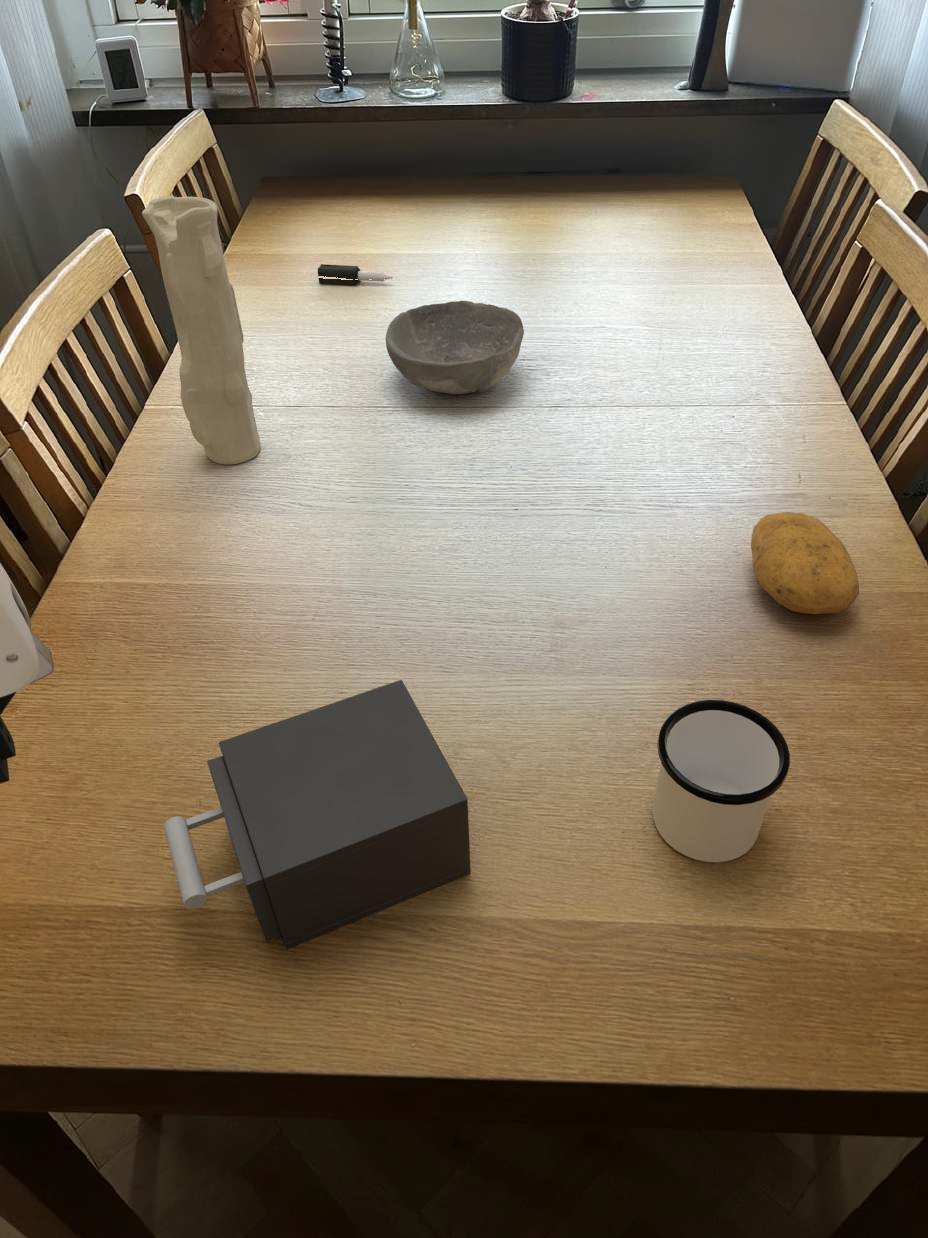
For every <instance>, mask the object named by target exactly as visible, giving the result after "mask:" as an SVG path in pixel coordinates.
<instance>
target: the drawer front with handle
mask: <svg viewBox="0 0 928 1238" xmlns="http://www.w3.org/2000/svg"><path fill="white" fill-rule="evenodd" d="M206 762H207V766H208V770H209V773H210V777H211V779H212V782H213V785H214V788H215V792H216V794H217V798H218V802H219V804H220V806H219V807H216V808H214V809H211V810H208V811H205V812H202V813H200V814H197V815H194V816H191V817H190V818H185V817H183V816H179V815H178V816H177V815H176V816H173V817H169V818H168V819H167V820H166V821H165V822H164V824H163V830H164V833H165V837H166V842H167V845H168V849H169V853H170V858H171V861H172V865H173V868H174V873H175V877H176V880H177V885H178V888H179V892H180V896H181V901H182V904H183V907H184V908H185V909H188V910H194V909H199V908H200V907H202V906H204V905H205V904H206V903H207V900H208V897H211V896H214V895H215V894H219V893H222V892H224V891H226V890H229V889H231V888H234V887H236V886H237V887H238V886H239V885H242V884H244V885H245V888H246V890H247V893H248V896H249V899H250V902H251V904H252V908H253V910H254V913H255V916H256V918H257V921H258V923H259V924H258V925H259V926H260V930H261V933H262V936H263V938H264V941H265V943H267V944H268V943H270V942H273V941H274V940H277V939H280V938H283V937H282V934H281V931H280V928H279V925H278V922H277V919H276V915H275V912H274V909H273V906H272V903H271V900H270V897H269V894H268V891H267V888H266V885H265V882H264V879H263V876H262V873H261V870H260V867H259V864H258V861H257V858H256V855H255V852H254V849H253V846H252V843H251V839H250V836H249V833H248V830H247V827H246V824H245V821H244V818H243V815H242V812H241V809H240V806H239V803H238V800H237V797H236V794H235V791H234V788H233V785H232V782H231V779H230V776H229V773H228V770H227V767H226V764H225V761H224V758H223V755H220V756H218V757H214V758H212V759H209V760H207V761H206ZM222 818H224V820H225V824H226V827H227V830H228V834H229V836H230V840H231V843H232V847H233V850H234V852H235V856H236V859H237V862H238V865H239V869H240V871H239V872H237V873H234V874H232V875H229V876H227V877H224V878H221V879H218V880H216V881H213V882H211V883H208V884H206V885H204V879H203V877H202V873H201V870H200V866H199V862H198V859H197V855H196V851H195V847H194V845H193V840H192V837H191V834H190V830H193V829H195V828H198V827H201V826H204V825H206V824H209V823H212V822H215V821H218V820H221V819H222Z"/></svg>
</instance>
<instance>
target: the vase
mask: <svg viewBox="0 0 928 1238" xmlns="http://www.w3.org/2000/svg"><path fill="white" fill-rule="evenodd" d="M141 215H142V217H143V218H144V220H145V222H146V224H147V225H148V227H149V228H150V230H151V232H152V234H153V236H154V239H155V243H156V247H157V251H158V258H159V264H160V270H161V276H162V280H163V285H164V288H165V293H166V297H167V301H168V304H169V309H170V312H171V316H172V321H173V323H174V324H173V325H174V328H175V332H176V337H177V342H178V346H179V350H180V356H181V360H180V366H179V368H178V369H179V381H180V400H181V401H180V402H181V405H182V409H183V411H184V414H185V417H186V419H187V420H188V422H189V428H190V432H191V434H192V436H193V438H194V439H195V441H196V442H197V443H198V444H200V445H201V446H202V447H203V448H204V452H205V454H206V455H207V457H208V458H209V459H210V461H212V462H215V463H216V464H219V465H237V464H241V463H244V462H247V461H249V460H252V459H254V458H255V457H256V456H258V454H259V453H260V451H261V438H260V434H259V430H258V426H257V421H256V416H255V412H254V411H255V410H254V406H253V395H252V391H251V390H250V387H249V383H248V379H247V374H246V367H245V353H244V345H243V343H244V340H245V339H244V331H243V328H242V323H241V318H240V314H239V308H238V304H237V299H236V294H235V293H236V292H235V289H234V286H233V284H232V283H231V282H230V279H229V274H228V270H227V265H226V264H227V263H226V260H225V255H224V250H223V247H222V246H223V245H222V242H221V236H220V232H219V226H218V206H217V204H216V203H215V202H214V201H213V200H212V199H208V198H206V197H199V196H174V195H167V196H160V197H156V198H153V199H151V200H150V201H149V202H148V205H147V206H146V207H145V208H144V209H143V210H142V213H141Z"/></svg>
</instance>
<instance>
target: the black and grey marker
mask: <svg viewBox="0 0 928 1238" xmlns="http://www.w3.org/2000/svg"><path fill="white" fill-rule="evenodd" d="M318 276H324V277H325V276H326V277H336V278H337V277H338V278H346V279H353V280H341V279H323V278H318ZM317 279H318V283H319V284H330V285H347V286H348V285H349V286H357V285H358V284H360V283H361V281H364V282H379V283H381V282H384V281H386V280H392V279H394V276H392V275H388V274H386V273H385V272H383V271H368V270H367V271H364V270H361V269H360V267H359V266H358V265H346V264H345V265H343V264H324V263H320V265H319V267H318V268H317ZM355 279H358V280H355ZM369 279H372V280H369ZM384 279H385V280H384Z"/></svg>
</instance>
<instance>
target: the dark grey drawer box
mask: <svg viewBox="0 0 928 1238" xmlns="http://www.w3.org/2000/svg"><path fill="white" fill-rule="evenodd" d="M218 745H219V750H220V751H221V754H222V755H221V756H223V758H224V761H225V764H226V767H227V770H228V773H229V776H230V779H231V782H232V785H233V788H234V791H235V794H236V797H237V800H238V803H239V806H240V809H241V812H242V815H243V818H244V821H245V824H246V827H247V830H248V833H249V836H250V839H251V843H252V846H253V849H254V852H255V855H256V858H257V861H258V864H259V867H260V870H261V873H262V876H263V879H264V882H265V885H266V888H267V891H268V894H269V897H270V900H271V903H272V906H273V909H274V912H275V915H276V919H277V922H278V925H279V928H280V931H281V934H282V937H281V938H282V940H283V943H284V946H285V948H286V950H289V949H292V948H294V947H296V946H299V945H301V944H305V943H307V942H309V941H311V940H314V939H316V938H318V937H320V936H323V935H326V934H328V933H329V932H333V931H336V930H338V929H340V928H342V927H345V926H347V925H349V924H350V925H351V923H354V922H356V921H359V920H361V919H363V918H366V917H368V916H371V915H374V914H377V913H379V912H381V911H384V910H386V909H388V908H390V907H393V906H396V905H397V904H400V903H402V902H405V901H407V900H410V899H413V898H414V897H417V896H420V895H422V894H425V893H428V892H429V891H432V890H434V889H436V888H439V887H441V886H444V885H445V884H448V883H450V882H453V881H455V880H458V879H460V878H463V877H465V876H468V875H470V874H471V873H472V872H471V871H472V870H471V851H470V849H471V848H470V824H469V801H468V800H469V799H468V797H467V795H466V794H465V792H464V790H463V788H462V786H461V784H460V783H459V781H458V779H457V777H456V776H455V773H454V772H453V769H452V767H451V766H450V765H449V763H448V761H447V759H446V757H445V756H444V754H443V752H442V750H441V748H440V746H439V744H438V743H437V741H436V739H435V736H433V734H432V732H431V730H430V729H429V726H428V724H427V722H426V720H425V719H424V717H423V715H422V714H421V712H420V710H419V708H418V707H417V705H416V703H415V701H414V699H413V698H412V696H411V694H410V692H409V690H408V688H407V686H406V684H405V682H404V681H403V679H398V680H396V681H393V682H391V683H387V684H384V685H382V686H379V687H376V688H373V689H370V690H367V691H363V692H361V693H358V694H354V695H353V696H349V697H347V698H343V699H341V700H337V701H334V702H332V703H329V704H326V705H323V706H320V707H317V708H314V709H311V710H309V711H305V712H302V713H299V714H296V715H294V716H291V717H288V718H285V719H282V720H279V721H276V722H273V723H270V724H267V725H265V726H261V727H258V728H256V729H253V730H250V731H247V732H245V733H241V734H238V735H235V736H233V737H230V738H229V737H228V738H226V739H224V740H221V741H218Z"/></svg>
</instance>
